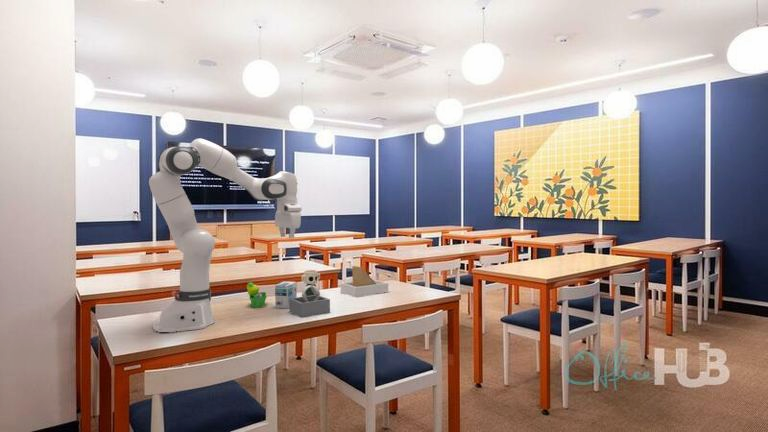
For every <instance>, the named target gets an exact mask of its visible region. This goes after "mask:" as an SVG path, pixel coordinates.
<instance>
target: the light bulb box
mask: <svg viewBox="0 0 768 432" xmlns="http://www.w3.org/2000/svg"><path fill="white" fill-rule="evenodd" d="M297 286H298V285H297V282H296V281H285V280H284V281H282V282H279V283H277V284H275V285H274V290H275V291H274V294H275V295H274V296H275V297H274V298H275V301H274V303H275V305H274V306H275V308H276V309H289V299H291V298H297V294H298V293H297V290H298V289H297Z"/></svg>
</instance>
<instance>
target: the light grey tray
mask: <svg viewBox="0 0 768 432" xmlns="http://www.w3.org/2000/svg"><path fill="white" fill-rule="evenodd" d="M371 279H372V280H373V281H374V282H375V283H376V284H375V285H368V286H361V287H354V286H353V281H348V282H340V293H341V294H344V295H347V296H350V295H351V296H350V297H353V296H354V298H360V296H361V297H366V296H365V295H367V296H371V295H370V294H374V295H377V294H376V293H380V294H385V293H384V292H386V293H389V282H386V281H381V280H378V279H377V280H376V279H373V278H371Z"/></svg>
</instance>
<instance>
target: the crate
mask: <svg viewBox="0 0 768 432" xmlns="http://www.w3.org/2000/svg"><path fill="white" fill-rule="evenodd" d="M305 296H306V298H307V300H308V302H305V301H304V299H303V297H302V296H298V297H297V298H291V299H289V308H288V309H289V310H288V312H289V313H290V314H292V315H295V316H298V317H300V318H301V319H302V318H308V317H313V316H317V315H324V314H330V313H331V301H330V300H331V299H330V298H327V297H324V296H321V295H320V297H319V299H318V300H317V301H313V300H314V299H315V298H316V296H315V294H314V295H311V296H307V295H305Z"/></svg>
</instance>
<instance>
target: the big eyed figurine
mask: <svg viewBox="0 0 768 432" xmlns="http://www.w3.org/2000/svg"><path fill="white" fill-rule="evenodd" d="M320 279H321V273H320V272H319V273H318V270H315V269H308V270H307V269H306V270H304V271H303V274H302V275H301V282H304V284H305V287H306V286H308V285H311V286H316V287H317V285H316V284H317V283H318V281H319V280H320ZM311 295H315V294H314V293H313V292H312V290H311V287H309V288H308V289H307V290H306V292H305V296H311Z"/></svg>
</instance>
